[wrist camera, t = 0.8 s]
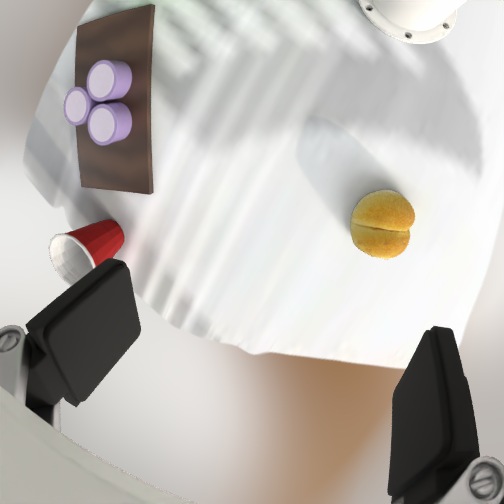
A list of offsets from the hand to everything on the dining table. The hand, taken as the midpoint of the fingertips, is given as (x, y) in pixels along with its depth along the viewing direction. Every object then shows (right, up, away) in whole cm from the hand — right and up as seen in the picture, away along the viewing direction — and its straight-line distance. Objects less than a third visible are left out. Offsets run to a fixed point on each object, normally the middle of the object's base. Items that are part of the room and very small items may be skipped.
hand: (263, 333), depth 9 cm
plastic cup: (-26, +6, +45) cm, 52 cm away
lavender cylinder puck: (-27, +27, +33) cm, 50 cm away
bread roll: (+17, +6, +30) cm, 35 cm away
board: (-23, +26, +33) cm, 48 cm away
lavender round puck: (-21, +22, +33) cm, 45 cm away
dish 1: (-21, +28, +30) cm, 46 cm away
